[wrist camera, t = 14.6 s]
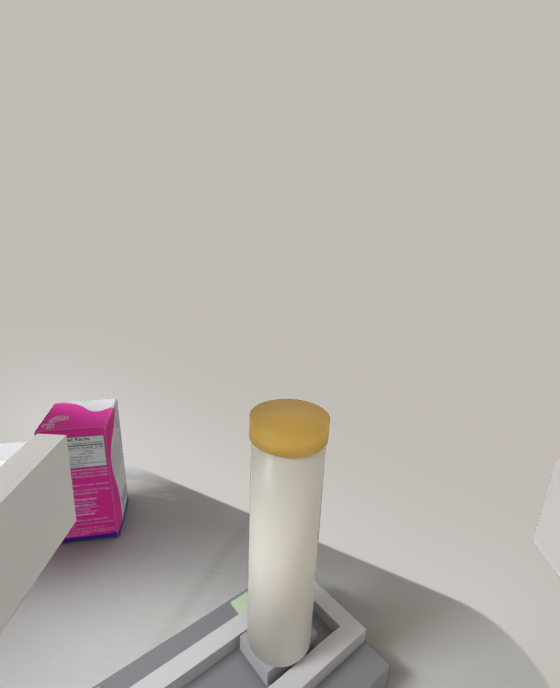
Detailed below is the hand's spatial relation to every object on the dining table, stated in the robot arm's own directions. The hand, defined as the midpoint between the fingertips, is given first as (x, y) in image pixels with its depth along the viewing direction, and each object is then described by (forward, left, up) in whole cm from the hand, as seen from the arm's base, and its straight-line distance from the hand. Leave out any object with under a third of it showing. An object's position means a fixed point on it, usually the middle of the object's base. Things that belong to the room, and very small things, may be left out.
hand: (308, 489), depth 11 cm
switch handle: (-8, +6, -19) cm, 22 cm away
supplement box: (-30, +1, -22) cm, 37 cm away
